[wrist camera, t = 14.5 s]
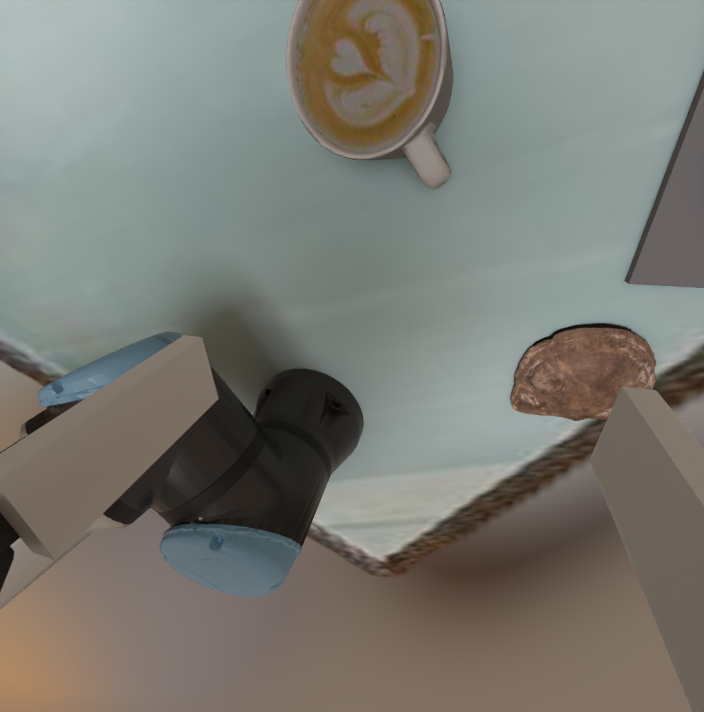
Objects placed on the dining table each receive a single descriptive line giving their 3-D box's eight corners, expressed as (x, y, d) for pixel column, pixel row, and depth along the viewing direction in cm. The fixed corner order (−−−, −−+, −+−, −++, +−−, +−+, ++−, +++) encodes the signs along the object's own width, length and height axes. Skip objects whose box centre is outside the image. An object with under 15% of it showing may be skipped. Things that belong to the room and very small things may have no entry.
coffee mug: (314, 63, 30) (256, 27, 21) (424, -26, 25) (405, -115, 17) (380, 214, 34) (353, 234, 26) (483, 161, 30) (491, 163, 21)
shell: (524, 317, 36) (530, 331, 33) (673, 325, 32) (694, 342, 29) (506, 406, 41) (509, 426, 38) (630, 421, 38) (645, 444, 35)
